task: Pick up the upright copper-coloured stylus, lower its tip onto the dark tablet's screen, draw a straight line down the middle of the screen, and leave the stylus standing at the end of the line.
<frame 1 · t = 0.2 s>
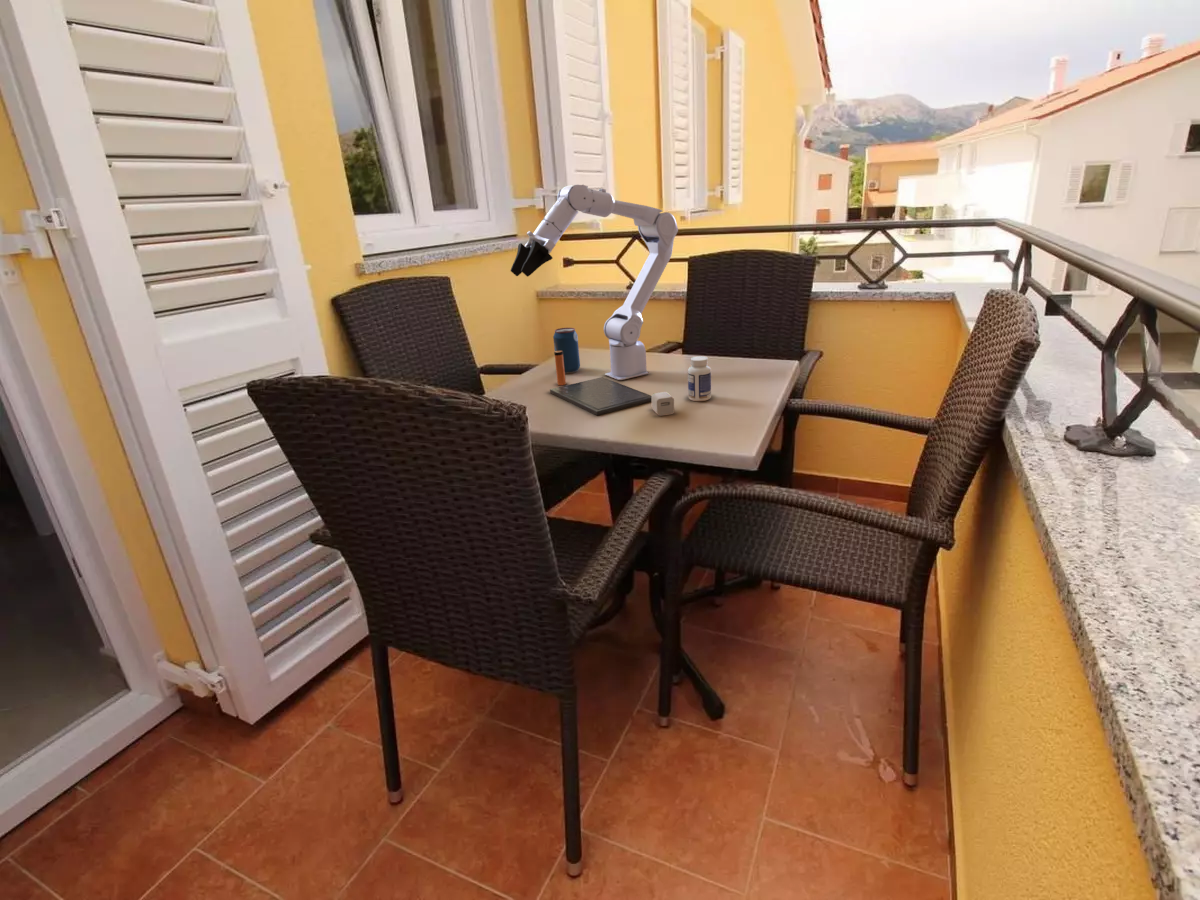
hand: (518, 273, 149), 31 cm above the table, tool tilted 45°, fingers open, 7 cm apart
usb wall charger: (661, 411, 143), on the table
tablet: (600, 396, 156), on the table
stylus: (561, 384, 169), on the table
soda can: (568, 371, 182), on the table
pill bottle: (699, 399, 149), on the table
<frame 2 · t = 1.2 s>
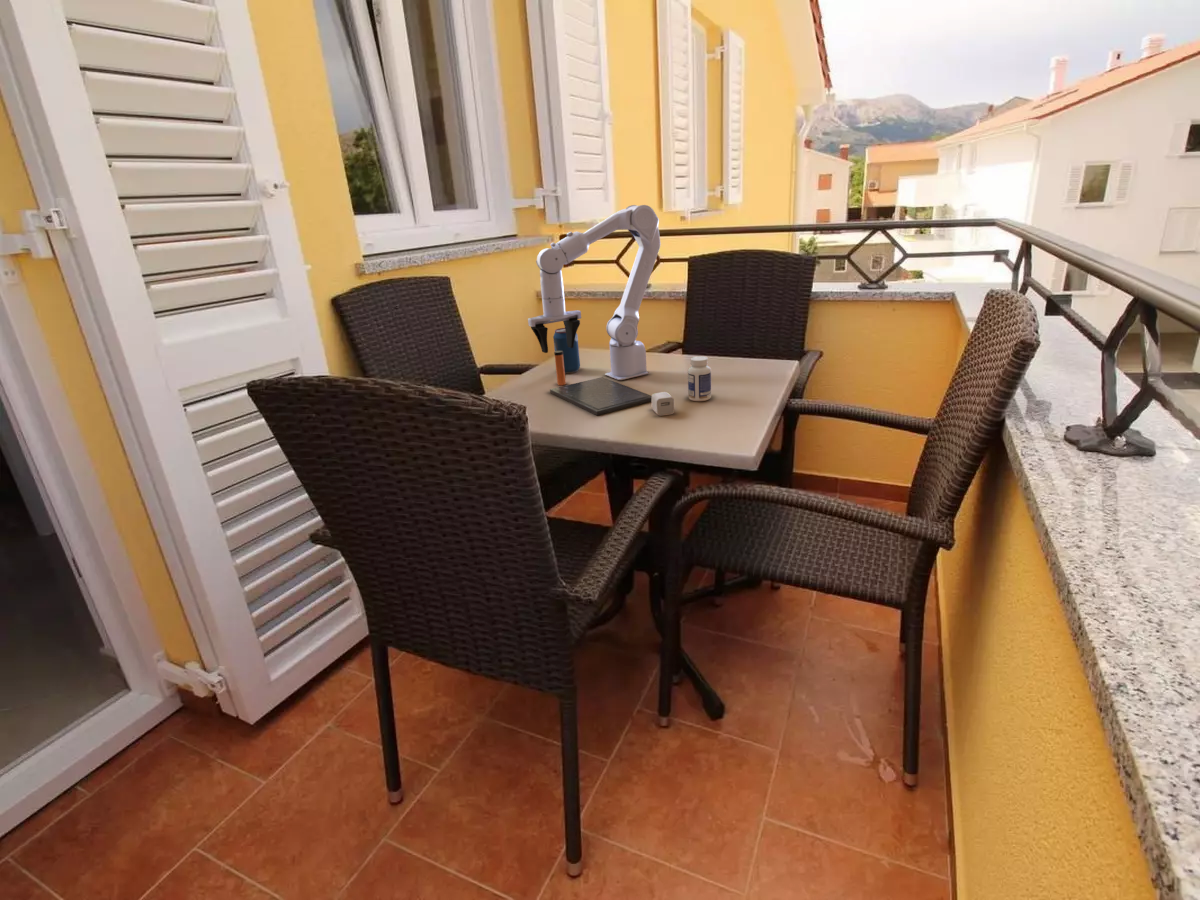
hand: (557, 349, 165), 9 cm above the table, tool pointing down, fingers open, 7 cm apart
nothing on the table moved.
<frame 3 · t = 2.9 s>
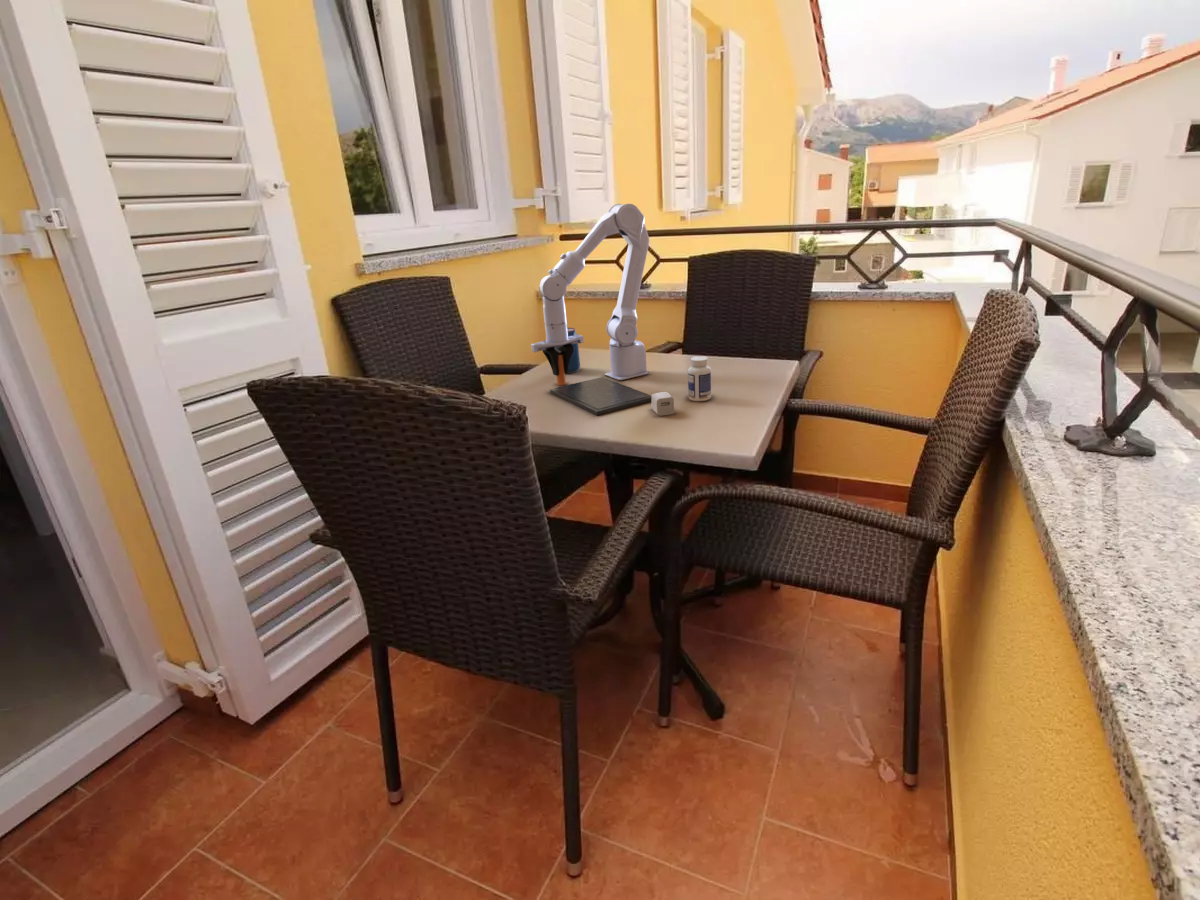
hand: (560, 373, 168), 3 cm above the table, tool pointing down, fingers closed on stylus, 2 cm apart
stylus: (561, 384, 169), on the table, touching gripper
everything else where it was.
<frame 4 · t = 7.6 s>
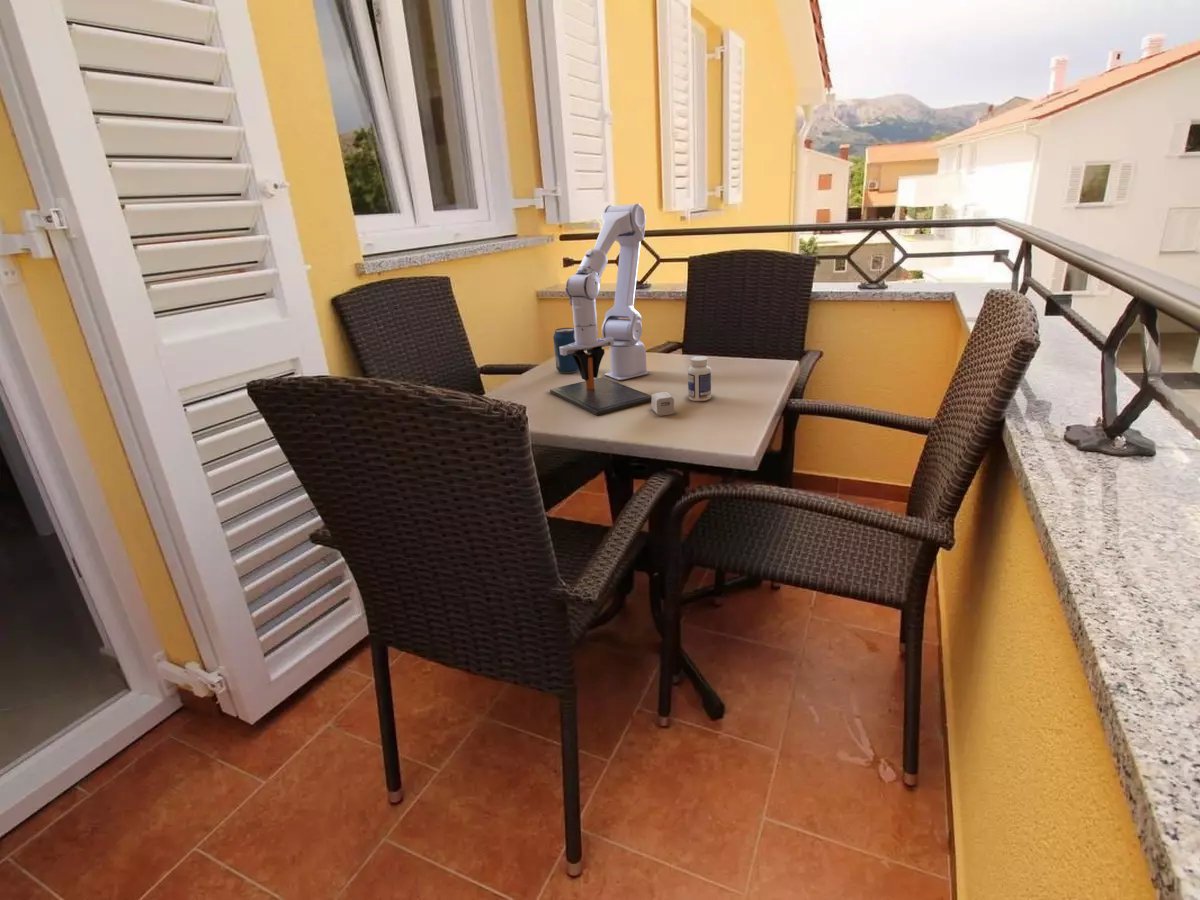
hand: (589, 378, 158), 4 cm above the table, tool pointing down, fingers closed on stylus, 2 cm apart
stylus: (590, 388, 160), point 1 cm above the table, touching gripper
everything else where it was.
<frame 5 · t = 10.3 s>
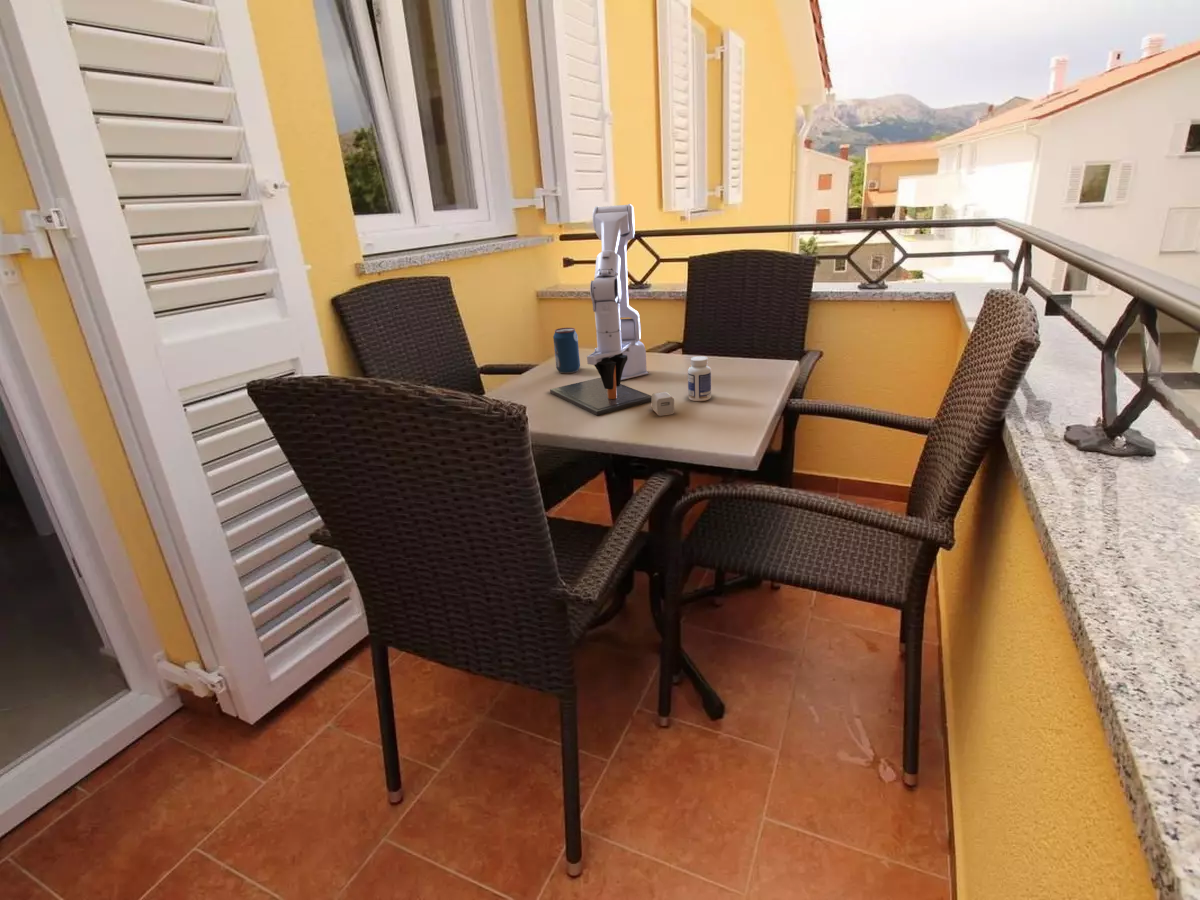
hand: (612, 387, 150), 4 cm above the table, tool pointing down, fingers closed on stylus, 2 cm apart
stylus: (612, 397, 151), point 1 cm above the table, touching gripper
everything else where it was.
when the fingers open (4 cm above the table, at t = 12.2 s): stylus stays where it is, resting on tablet.
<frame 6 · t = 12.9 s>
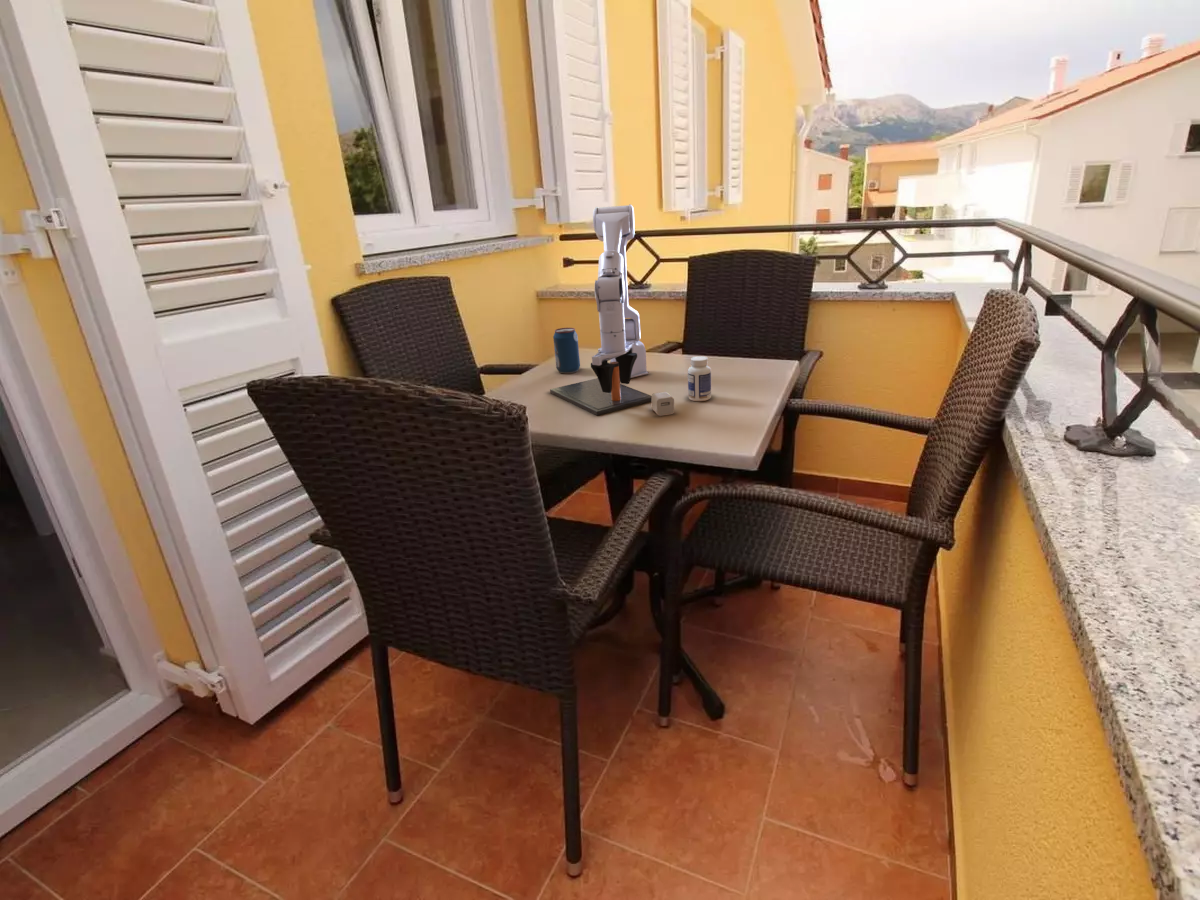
hand: (616, 387, 148), 4 cm above the table, tool pointing down, fingers open, 7 cm apart
stylus: (616, 399, 149), point 1 cm above the table, touching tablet
everything else where it was.
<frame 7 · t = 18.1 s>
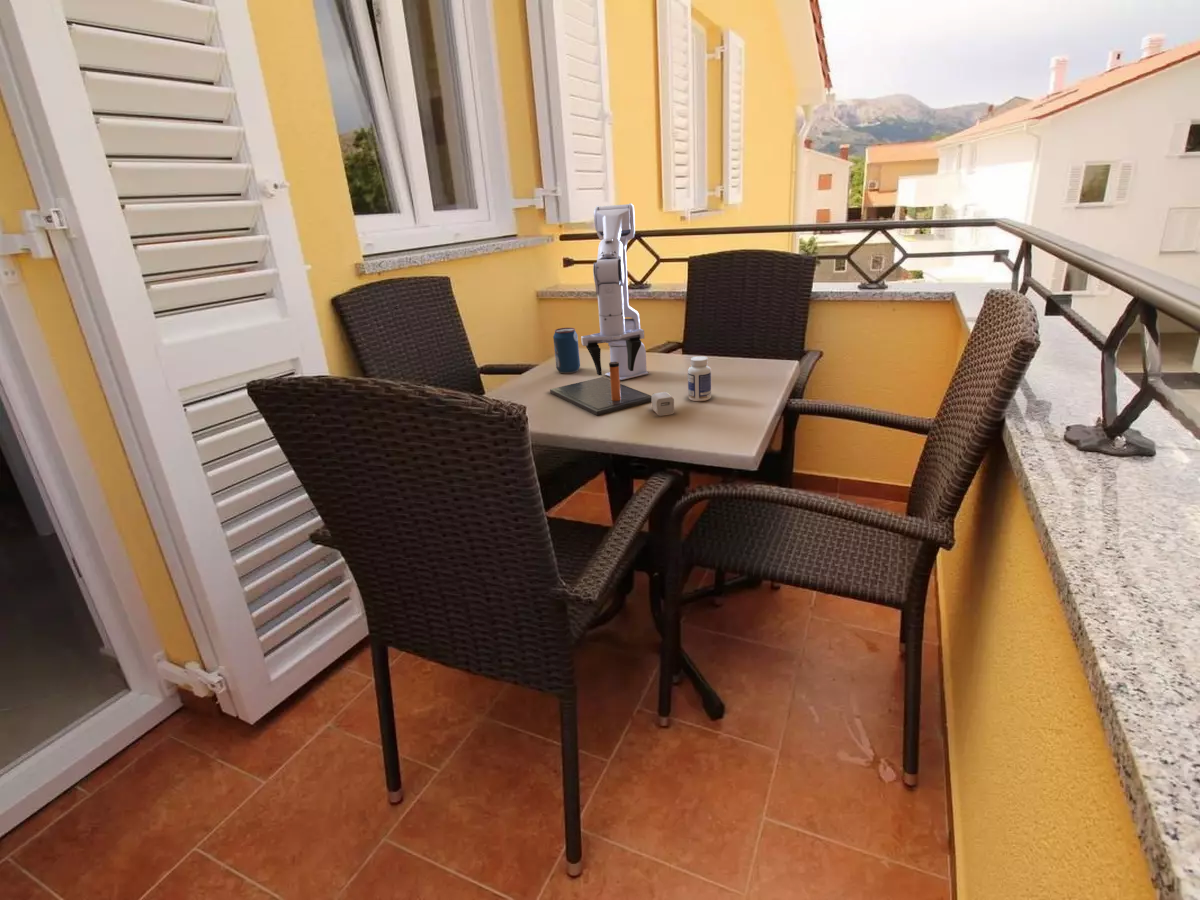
hand: (615, 372, 147), 8 cm above the table, tool pointing down, fingers open, 7 cm apart
nothing on the table moved.
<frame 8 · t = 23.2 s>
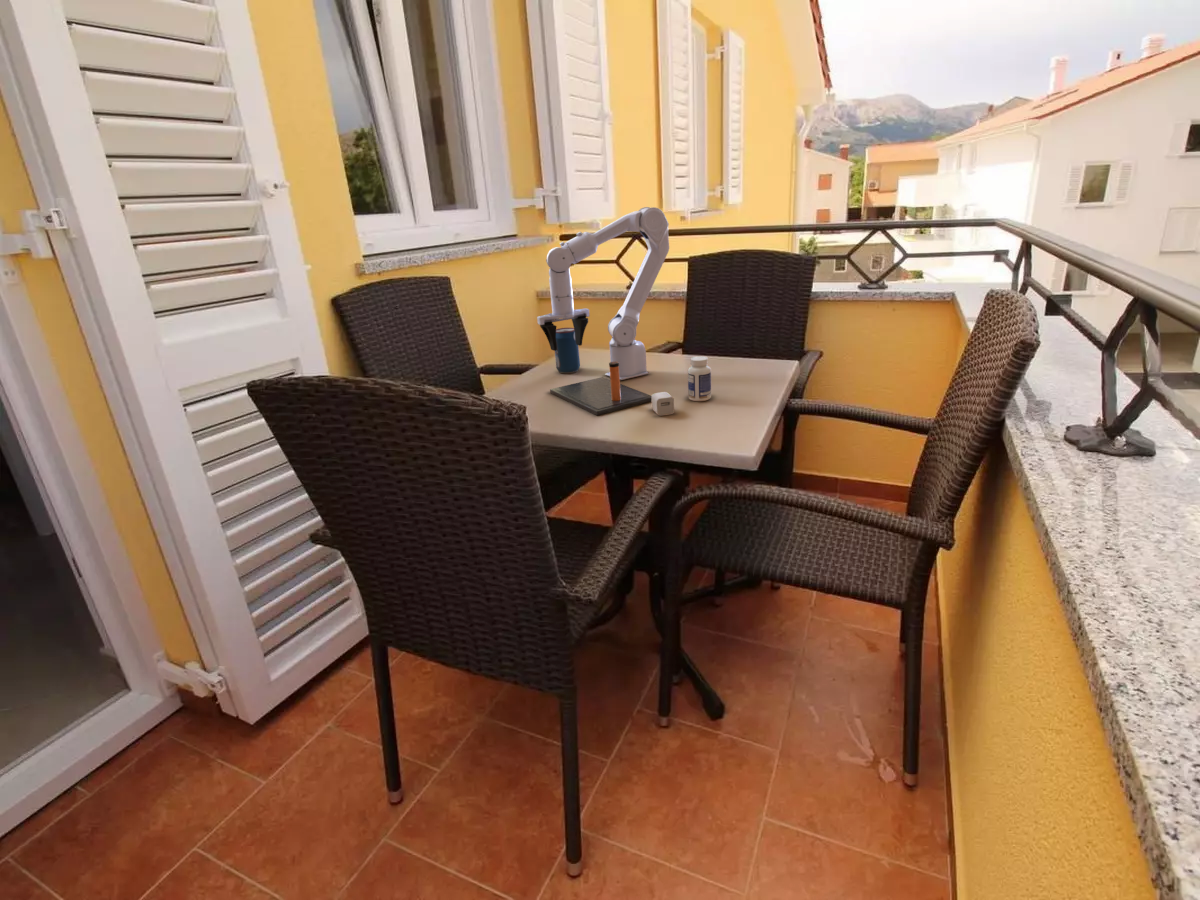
hand: (566, 347, 168), 9 cm above the table, tool pointing down, fingers open, 7 cm apart
nothing on the table moved.
at the end: stylus 0.4 cm from the target spot on the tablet, point 1.1 cm above the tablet's base; stylus tilted 0°; the gripper is holding nothing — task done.
